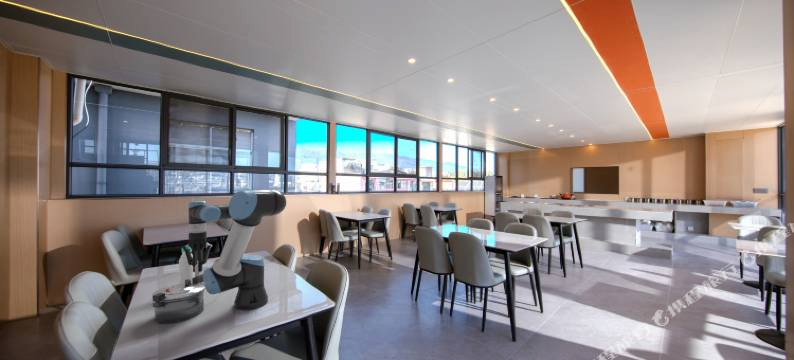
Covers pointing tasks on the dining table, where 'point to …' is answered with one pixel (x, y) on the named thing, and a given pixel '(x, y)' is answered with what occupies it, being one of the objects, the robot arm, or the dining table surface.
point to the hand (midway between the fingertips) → (197, 278)
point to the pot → (179, 309)
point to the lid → (180, 290)
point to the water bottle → (185, 268)
